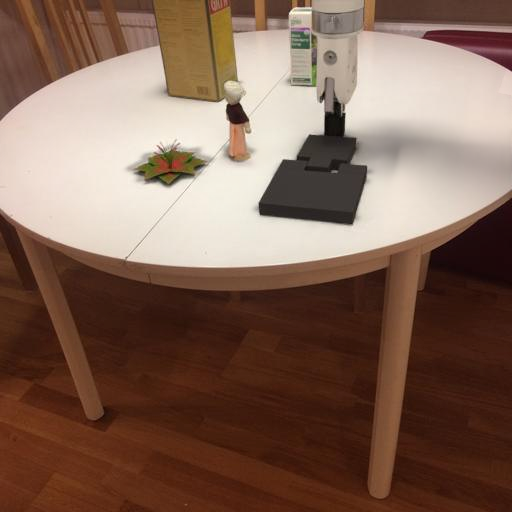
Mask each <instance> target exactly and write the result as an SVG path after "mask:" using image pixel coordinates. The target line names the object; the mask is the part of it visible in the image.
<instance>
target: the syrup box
mask: <svg viewBox="0 0 512 512" xmlns="http://www.w3.org/2000/svg"><path fill="white" fill-rule="evenodd" d="M311 9H312V7H299V6H297V7H296V6H295V7H294V8H292V9H291V10H290V12H289V13H288V37H289V54H290V55H289V57H290V85H291V86H313V87H316V79H317V47H318V36H315V35H313V34H312V11H311Z"/></svg>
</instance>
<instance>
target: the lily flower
mask: <svg viewBox="0 0 512 512" xmlns="http://www.w3.org/2000/svg"><path fill="white" fill-rule="evenodd" d="M177 141H178V139H177V138H176V139H175V140H174V142H173V143H172V145H171V147H170V149H169V150H168V151H167V150H166V148H165V147H164V145H163V143H162V142H161V141H159V144H160V145H161V146H162V147H161V146H160V145H158V144H157V145H156V144H155V145H156V147H157V148H158V149H159V150H160V151H161V153H158V152H156V151H154V152H153V154H154V155H152V156H148V157H147V161H148V162H146V163H143V164H140V165H138V166H137V167H136V168H135V167H134V168H133V169H131V170H133V171H139V172H144V178H143V181H142V182H145V181H147V180H148V179H151V178H153V177H156V176H158V178H159V179H161V180H162V181H163V182H166V184H167V185H170V183H171V182H173V181H174V180H175V179H176V178H178V177H179V176H180V175H181V173H185V174H191V175H195V176H197V174H196V171H195V168H196V167H197V166H199V165H203V164H205V163H209V162H210V161H208V160H205V159H202V158H199V157H193V156H194V155H195V154H196V153H197V151H181V150H177V149H178V148H177V146H180V145H181V142H178V143H177V144H176V145H175V146H174V144H175V143H176V142H177ZM166 143H167V145H168V142H166ZM192 157H193V158H192Z"/></svg>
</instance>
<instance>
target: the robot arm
mask: <svg viewBox="0 0 512 512" xmlns="http://www.w3.org/2000/svg"><path fill="white" fill-rule="evenodd" d="M311 8H312V9H311V11H312V34H313V35H315V36H318V47H317V79H316V86H315V87H316V100H317V102H318V103H319V104H322V103H323V104H324V105H323V106H324V107H323V108H324V115H323V135H326V136H341V137H345V134H346V116H347V115H346V114H347V113H346V112H345V111H346V105H348V104H349V103H350V102H351V99H352V97H353V96H354V93H355V91H356V88H357V85H358V59H359V58H358V53H359V51H358V50H359V48H358V45H359V43H358V41H359V39H358V35H359V34H361V33H362V32H363V30H364V11H365V0H311Z"/></svg>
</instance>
